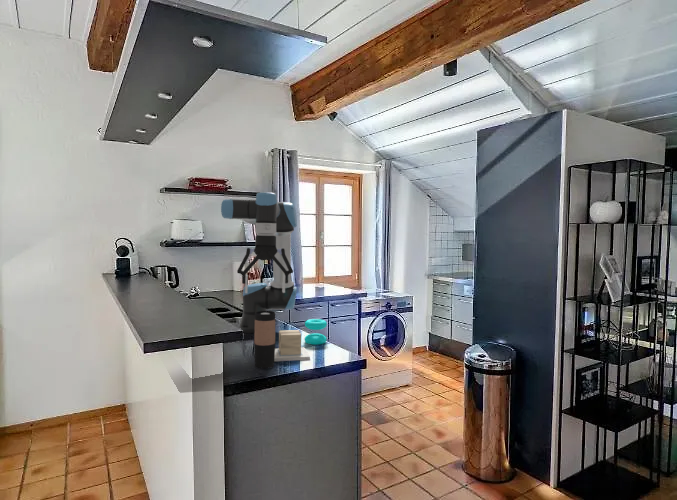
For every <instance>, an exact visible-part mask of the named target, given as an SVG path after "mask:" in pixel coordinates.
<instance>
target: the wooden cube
mask: <svg viewBox="0 0 677 500" xmlns="http://www.w3.org/2000/svg"><path fill="white" fill-rule="evenodd" d="M301 347H302V333H301V332H300V330H299V329H290V330H289V329H288V330H287V329H286V330H278V348H279V352H280V354H281V355H298V354H301Z"/></svg>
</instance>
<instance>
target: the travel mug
mask: <svg viewBox="0 0 677 500" xmlns="http://www.w3.org/2000/svg"><path fill="white" fill-rule="evenodd" d="M253 335H254V340H253V341H254V344H253V345H254V346H253V348H254V350H253V351H254V367H255V368H257V369H261V370H263V369H264V370H265V369H267V370H268V369H272V368H274V367H275V361H274V358H275V349H276V312H275V311H273V310H266V311H258V312H255V333H253Z"/></svg>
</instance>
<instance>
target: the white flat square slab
mask: <svg viewBox="0 0 677 500" xmlns="http://www.w3.org/2000/svg"><path fill="white" fill-rule="evenodd" d="M310 360H311V356H310V354H309V353H308V351H307V349H306V348H305V347H303V346H301V354H298V355H281V354H280V352H279V347H278V348H276V347H275V358H274V362H286V361H287V362H289V361H310Z"/></svg>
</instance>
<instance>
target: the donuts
mask: <svg viewBox="0 0 677 500" xmlns="http://www.w3.org/2000/svg"><path fill="white" fill-rule="evenodd" d="M327 325H328V323H327V320H324V319H320V318H310V319H307V320H306V321H304V326H305V327H306V328H307V329H308V330H313V331H317V330H319V331H320V330H323V329H325V328H326V327H327ZM304 342H305V343H306V344H308V345H314V346H315V345H316V346H317V345H324V344H325V343H326V342H327V337H326V336H325V335H324V334H322V333H309V334H307V335H306V336H305V337H304Z"/></svg>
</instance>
